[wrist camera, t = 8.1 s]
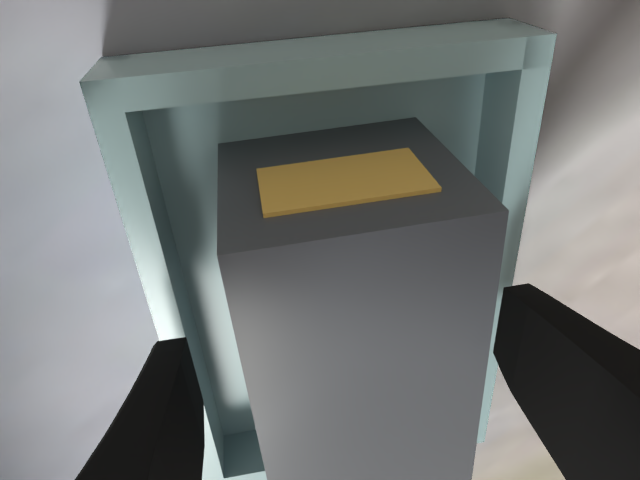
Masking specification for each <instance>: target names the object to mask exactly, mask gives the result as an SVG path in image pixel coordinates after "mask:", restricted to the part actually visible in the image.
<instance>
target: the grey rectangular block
mask: <svg viewBox="0 0 640 480" xmlns="http://www.w3.org/2000/svg"><path fill="white" fill-rule="evenodd" d="M508 215H509V210H508V209H507V208H506V207H505V206H504V205H503V204H502V203H501V202H500V201H499V200H498V199H497V198H496V197H495V196H494V195H493V194H492V193H491V192H490V191H489V190H488V189H487V188H486V187H485V186H484V185H483V184H482V183H481V182H480V181H479V180H478V179H477V178H476V177H475V176H474V175H473V174H472V173H471V172H470V171H469V170H468V169H467V168H466V167H465V166H464V165H463V164H462V163H461V162H460V161H459V160H458V159H457V158H456V157H455V156H454V155H453V154H452V153H451V152H450V151H449V150H448V149H447V148H446V147H445V146H444V145H443V144H442V143H441V142H440V141H439V140H438V139H437V138H436V137H435V136H434V135H433V134H432V133H431V132H430V131H429V130H428V129H427V128H426V127H425V126H424V125H423V124H422V123H421V122H420V121H419V120H418V119H417V118H416V117H414V118H406V119H399V120H391V121H384V122H376V123H369V124H361V125H354V126H346V127H339V128H331V129H324V130H316V131H309V132H301V133H294V134H286V135H279V136H271V137H264V138H256V139H249V140H241V141H234V142H226V143H219V144H218V186H217V259H218V263H219V268H220V272H221V277H222V281H223V286H224V290H225V295H226V299H227V303H228V308H229V312H230V317H231V321H232V326H233V330H234V335H235V339H236V343H237V348H238V352H239V357H240V361H241V366H242V370H243V375H244V379H245V383H246V388H247V392H248V397H249V401H250V406H251V410H252V415H253V419H254V423H255V428H256V432H257V437H258V441H259V446H260V450H261V455H262V459H263V463H264V468H265V472H266V477H267V480H471V479H472V472H473V465H474V458H475V451H476V444H477V436H478V429H479V422H480V415H481V408H482V401H483V394H484V386H485V379H486V372H487V365H488V358H489V351H490V344H491V337H492V329H493V322H494V315H495V308H496V301H497V294H498V287H499V279H500V272H501V265H502V258H503V251H504V244H505V237H506V229H507V222H508Z"/></svg>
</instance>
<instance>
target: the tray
mask: <svg viewBox="0 0 640 480" xmlns="http://www.w3.org/2000/svg"><path fill="white" fill-rule="evenodd" d="M556 36H557V34H556V33H553V32H550V31H547V30H544V29H541V28H538V27H535V26H532V25H529V24H526V23H523V22H520V21H517V20H514V19H511V18H502V19H492V20H481V21H471V22H461V23H450V24H440V25H429V26H419V27H409V28H398V29H388V30H378V31H367V32H357V33H347V34H336V35H326V36H315V37H305V38H295V39H284V40H274V41H264V42H253V43H243V44H233V45H222V46H212V47H201V48H191V49H181V50H170V51H160V52H150V53H139V54H129V55H119V56H108V57H101V58H100V59H99V60H98V61H97V62H96V64H95V65H94V66H93V67H92V68H91V69H90V70H89V72H88V73H87V74H86V75H85V76H84V77H83V78H82V80H81V81H80V86H81V89H82V92H83V95H84V99H85V102H86V105H87V108H88V111H89V115H90V118H91V121H92V124H93V128H94V131H95V134H96V137H97V141H98V144H99V147H100V150H101V153H102V157H103V160H104V163H105V166H106V170H107V173H108V176H109V179H110V183H111V186H112V189H113V192H114V196H115V199H116V202H117V205H118V208H119V212H120V215H121V218H122V221H123V225H124V228H125V231H126V234H127V238H128V241H129V244H130V247H131V251H132V254H133V257H134V260H135V263H136V267H137V270H138V273H139V276H140V280H141V283H142V286H143V289H144V293H145V296H146V299H147V302H148V305H149V309H150V312H151V315H152V318H153V322H154V325H155V328H156V331H157V335H158V338H159V341H162V340H169V339H175V338H182V337H186V338H187V341H188V345H189V349H190V352H191V356H192V360H193V364H194V367H195V371H196V375H197V378H198V382H199V386H200V390H201V393H202V397H203V401H204V434H205V449H204V461H203V472H202V480H267V477H266V472H265V468H264V463H263V459H262V455H261V450H260V446H259V441H258V437H257V432H256V428H255V423H254V419H253V415H252V410H251V406H250V401H249V397H248V392H247V388H246V383H245V379H244V375H243V370H242V366H241V361H240V357H239V352H238V348H237V343H236V339H235V335H234V330H233V326H232V321H231V317H230V312H229V308H228V303H227V299H226V295H225V290H224V286H223V281H222V277H221V272H220V268H219V263H218V259H217V186H218V144H219V143H226V142H234V141H241V140H249V139H256V138H264V137H271V136H279V135H286V134H294V133H301V132H309V131H316V130H324V129H331V128H339V127H346V126H354V125H361V124H369V123H376V122H384V121H391V120H399V119H406V118H414V117H416V118H417V119H418V120H419V121H420V122H421V123H422V124H423V125H424V126H425V127H426V128H427V129H428V130H429V131H430V132H431V133H432V134H433V135H434V136H435V137H436V138H437V139H438V140H439V141H440V142H441V143H442V144H443V145H444V146H445V147H446V148H447V149H448V150H449V151H450V152H451V153H452V154H453V155H454V156H455V157H456V158H457V159H458V160H459V161H460V162H461V163H462V164H463V165H464V166H465V167H466V168H467V169H468V170H469V171H470V172H471V173H472V174H473V175H474V176H475V177H476V178H477V179H478V180H479V181H480V182H481V183H482V184H483V185H484V186H485V187H486V188H487V189H488V190H489V191H490V192H491V193H492V194H493V195H494V196H495V197H496V198H497V199H498V200H499V201H500V202H501V203H502V204H503V205H504V206H505V207H506V208H507V209H508V210H509V215H508V222H507V229H506V237H505V244H504V251H503V258H502V265H501V272H500V279H499V287H498V294H497V301H496V308H495V315H494V322H493V329H492V337H491V344H490V351H489V358H488V365H487V372H486V379H485V386H484V394H483V401H482V408H481V415H480V422H479V429H478V436H477V443H481V442H484V441H485V435H486V429H487V424H488V418H489V412H490V407H491V401H492V396H493V390H494V384H495V379H496V373H497V368H498V363H497V361H496V358H495V356H494V354H493V348H494V342H495V336H496V330H497V324H498V318H499V312H500V306H501V300H502V294H503V288H504V287H509V286H512V283H513V278H514V272H515V267H516V261H517V255H518V250H519V244H520V238H521V233H522V227H523V222H524V216H525V210H526V205H527V199H528V194H529V188H530V182H531V177H532V171H533V165H534V160H535V154H536V149H537V143H538V137H539V132H540V126H541V121H542V115H543V109H544V104H545V98H546V93H547V87H548V81H549V76H550V70H551V64H552V59H553V53H554V48H555V42H556Z"/></svg>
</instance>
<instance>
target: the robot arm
mask: <svg viewBox="0 0 640 480" xmlns="http://www.w3.org/2000/svg"><path fill="white" fill-rule="evenodd" d="M493 354H494V356H495V358H496V361H497V363H498V365H499V367H500V370H501V372H502V374H503V376H504V378H505V380H506V383H507V385H508V387H509V389H510V391H511V393H512V394H513V396H514V398H515V399H516V401H517V403H518V404H519V406H520V407H521V409H522V411H523V412H524V414H525V415H526V417H527V419H528V420H529V422H530V424H531V425H532V427H533V428H534V430H535V431H536V433H537V435H538V436H539V438H540V439H541V441H542V442H543V444H544V446H545V447H546V449H547V450H548V452H549V454H550V455H551V457H552V458H553V460H554V461H555V463H556V465H557V466H558V468H559V469H560V471H561V473H562V474H563V476H564V477H565V479H566V480H640V350H639V349H637V348H636V347H634V346H632V345H630V344H629V343H627V342H625V341H623V340H622V339H620V338H618V337H616V336H615V335H613V334H611V333H610V332H608V331H606V330H605V329H603V328H601V327H600V326H598V325H596V324H595V323H593V322H592V321H590V320H588V319H587V318H585V317H583V316H582V315H580V314H579V313H577V312H575V311H574V310H572V309H570V308H569V307H567V306H566V305H564V304H562V303H561V302H559V301H558V300H556V299H554V298H553V297H551V296H549V295H548V294H546V293H544V292H543V291H541V290H539V289H538V288H536V287H534V286H532V285H531V284H522V285H516V286H509V287H504V288H503V294H502V300H501V306H500V312H499V318H498V324H497V330H496V336H495V342H494V348H493ZM204 449H205V434H204V401H203V397H202V393H201V390H200V386H199V382H198V378H197V375H196V371H195V367H194V364H193V360H192V356H191V352H190V349H189V345H188V341H187V338H186V337H182V338H175V339H169V340H162V341H157V342H156V344H155V345H154V346H153V348H152V350H151V352H150V354H149V356H148V358H147V360H146V362H145V364H144V366H143V368H142V370H141V372H140V374H139V376H138V378H137V380H136V381H135V383H134V385H133V387H132V389H131V391H130V393H129V394H128V396H127V398H126V400H125V401H124V403H123V405H122V406H121V408H120V410H119V412H118V413H117V415H116V417H115V419H114V420H113V422H112V424H111V425H110V427H109V429H108V430H107V432H106V433H105V435H104V437H103V438H102V440H101V441H100V443H99V444H98V446H97V447H96V449H95V450H94V452H93V453H92V455H91V456H90V458H89V460H88V461H87V463H86V464H85V466H84V467H83V469H82V470H81V472H80V473H79V474H78V476H77V477H76V479H75V480H202V472H203V461H204Z"/></svg>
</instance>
